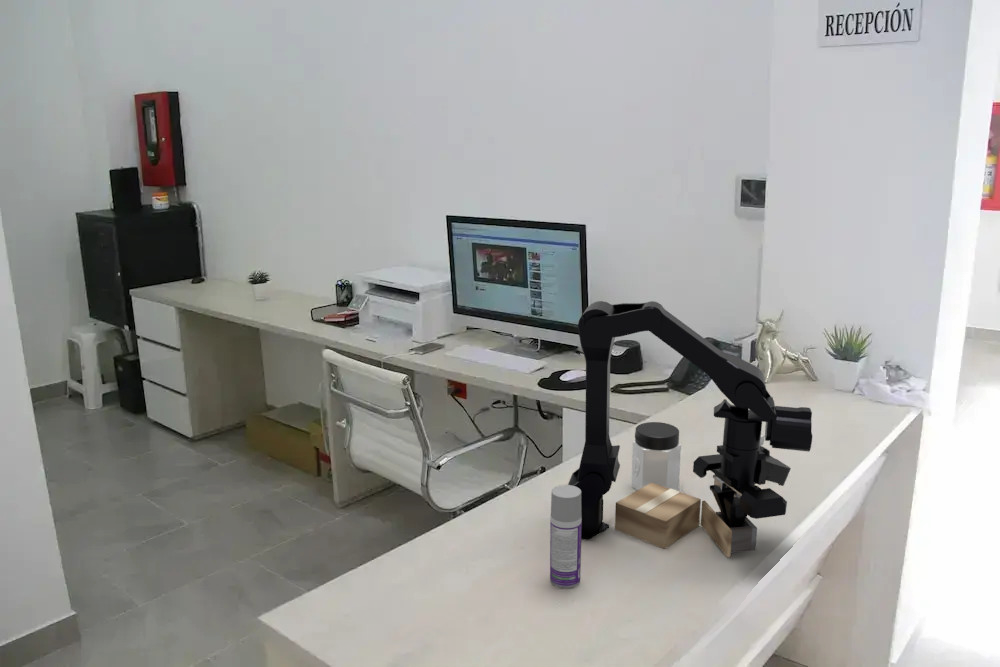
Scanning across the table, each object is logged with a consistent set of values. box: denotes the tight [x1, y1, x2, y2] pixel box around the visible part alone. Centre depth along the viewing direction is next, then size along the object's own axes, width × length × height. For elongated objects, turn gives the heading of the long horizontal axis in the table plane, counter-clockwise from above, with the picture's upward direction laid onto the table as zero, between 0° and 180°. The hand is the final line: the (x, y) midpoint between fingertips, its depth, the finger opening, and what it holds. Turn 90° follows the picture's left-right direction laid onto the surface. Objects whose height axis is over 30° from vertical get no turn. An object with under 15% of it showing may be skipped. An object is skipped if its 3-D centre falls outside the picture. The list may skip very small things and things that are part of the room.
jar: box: [630, 421, 682, 491], centre depth 158 cm, size 9×8×12 cm
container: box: [549, 484, 582, 590], centre depth 127 cm, size 5×5×15 cm
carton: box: [614, 482, 702, 549], centre depth 144 cm, size 11×10×5 cm
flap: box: [700, 500, 758, 558], centre depth 139 cm, size 11×5×5 cm, turn 9°
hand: (733, 532), depth 138 cm, fingers closed
